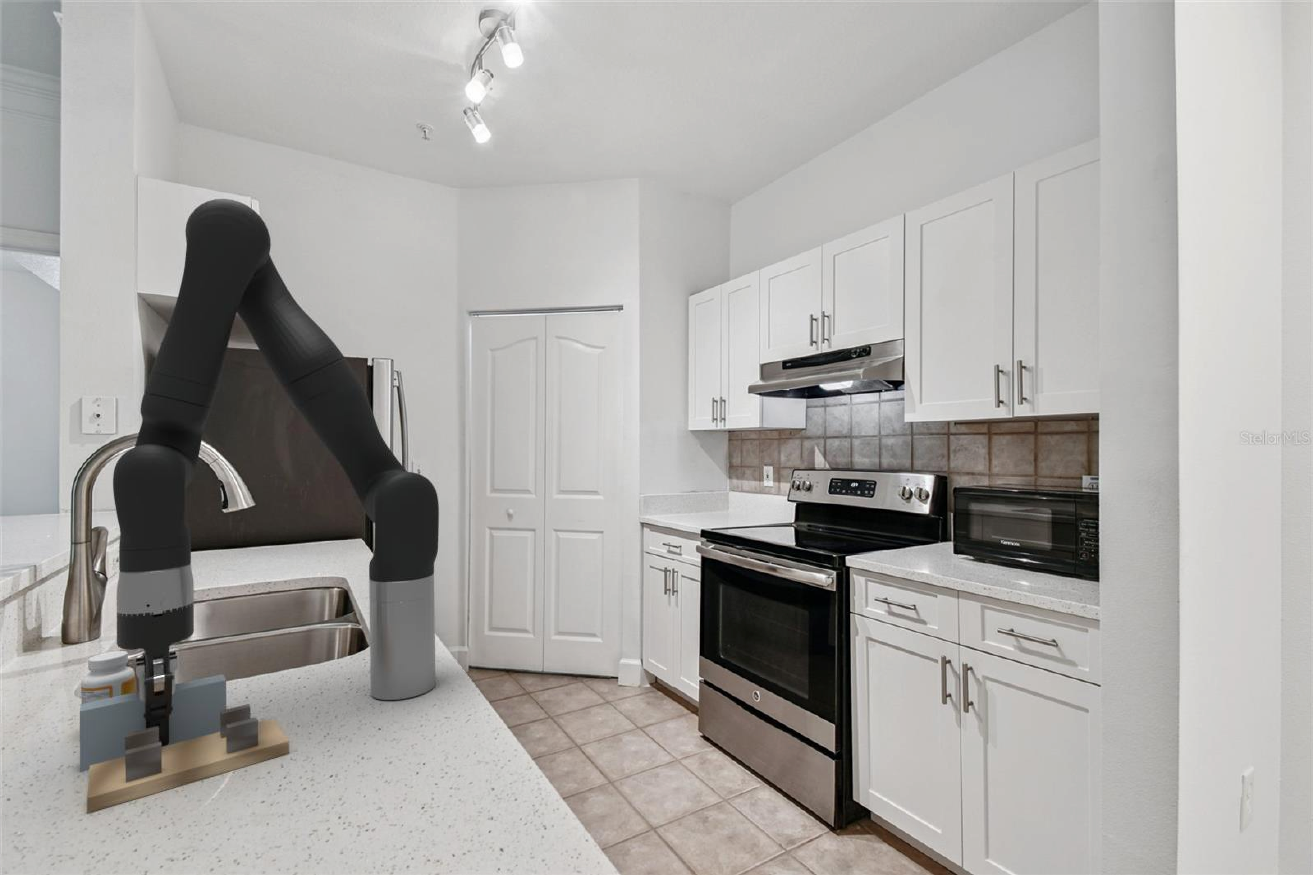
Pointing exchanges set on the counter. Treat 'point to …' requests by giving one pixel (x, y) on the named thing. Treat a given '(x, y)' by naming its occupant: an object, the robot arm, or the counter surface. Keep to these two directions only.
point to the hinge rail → (183, 758)
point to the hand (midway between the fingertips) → (156, 741)
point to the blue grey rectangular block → (124, 715)
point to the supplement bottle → (107, 677)
